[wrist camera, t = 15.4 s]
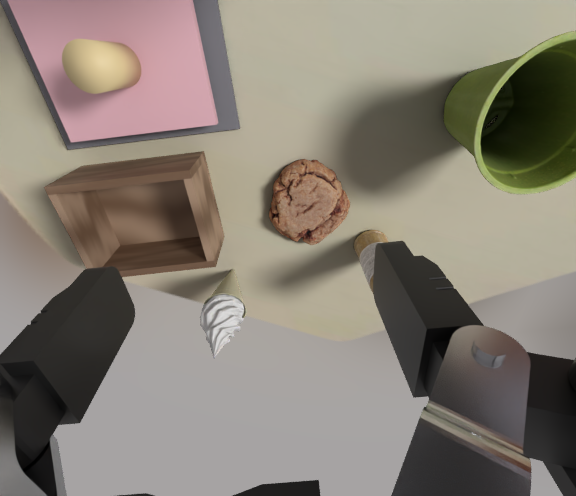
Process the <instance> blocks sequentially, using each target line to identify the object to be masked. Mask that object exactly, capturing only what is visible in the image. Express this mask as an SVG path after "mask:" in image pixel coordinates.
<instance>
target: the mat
mask: <svg viewBox="0 0 576 496" xmlns="http://www.w3.org/2000/svg"><path fill="white" fill-rule="evenodd" d="M0 2H1V4H2V6H3V8H4V11H5V13H6V15H7V17H8V19H9V22H10V24H11V26H12V28H13V30H14V32H15V35H16V37H17V39H18V41H19V43H20V46H21V48H22V50H23V52H24V54H25V57H26V59H27V61H28V63H29V65H30V67H31V70H32V72H33V74H34V76H35V78H36V81H37V83H38V85H39V87H40V89H41V92H42V94H43V96H44V98H45V100H46V103H47V105H48V107H49V109H50V111H51V113H52V116H53V118H54V120H55V122H56V124H57V127H58V129H59V131H60V133H61V135H62V138H63V140H64V142H65V144H66V146H67V148H68V149H77V148H85V147H93V146H101V145H110V144H118V143H126V142H134V141H142V140H151V139H159V138H167V137H175V136H184V135H192V134H200V133H208V132H217V131H225V130H233V129H240V125H239V119H238V113H237V108H236V102H235V96H234V91H233V85H232V79H231V74H230V68H229V63H228V57H227V51H226V46H225V40H224V34H223V29H222V23H221V17H220V12H219V6H218V0H193V4H194V8H195V13H196V18H197V23H198V27H199V32H200V37H201V42H202V47H203V51H204V56H205V61H206V66H207V70H208V75H209V80H210V85H211V89H212V94H213V99H214V104H215V109H216V113H217V118H218V124H217V125H210V126H202V127H193V128H185V129H177V130H169V131H161V132H153V133H145V134H137V135H128V136H120V137H112V138H104V139H96V140H88V141H80V142H71V141H70V139H69V137H68V135H67V132H66V130H65V128H64V126H63V123H62V121H61V119H60V117H59V115H58V112H57V110H56V108H55V106H54V103H53V101H52V99H51V97H50V94H49V92H48V90H47V88H46V86H45V83H44V81H43V79H42V77H41V74H40V72H39V70H38V68H37V65H36V63H35V61H34V59H33V56H32V54H31V52H30V50H29V48H28V45H27V43H26V41H25V39H24V36H23V34H22V32H21V30H20V27H19V25H18V23H17V21H16V19H15V16H14V14H13V12H12V10H11V7H10V5H9V3H8V1H7V0H0Z"/></svg>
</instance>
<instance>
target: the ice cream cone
mask: <svg viewBox="0 0 576 496" xmlns="http://www.w3.org/2000/svg"><path fill="white" fill-rule="evenodd" d="M245 315H246V306H245V304H244V302H243V298H242V295H241V291H240V288H239V284H238V281H237V277H236V274H235V271H234V270H233V269H232V270H231V271H230V272H229V274H228V275H227V276H226V277H225V279H224V280H223V281H222V282H221V284H220V285H219V286H218V287H217V289H216V290H215V291H214V293H213V294H212V295H211V296H210V297H209V298H208V299H207V300H206V301H205V303H204V306H203V309H202V312H201V316H200V325H201V327H202V328H203V330H204V331H205V333H206V335H207V337H206V340H207V341H208V343H209V344H210V347H211V350H212V353H213V358H215V356H216V355H217V354H218V352H219V351H220V350H221V348H222V347H223V346H224V345H225V344H226V343H228V342H229V341H230V340H229V339H228V337H234V334H233V332H234V331H240V326H238V323H242V322H243V320H244V317H245Z"/></svg>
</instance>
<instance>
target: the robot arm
mask: <svg viewBox="0 0 576 496" xmlns="http://www.w3.org/2000/svg"><path fill="white" fill-rule="evenodd" d="M373 294H374V299H375V303H376V306H377V308H378V310H379V313H380V315H381V318H382V320H383V323H384V325H385V328H386V330H387V333H388V335H389V338H390V340H391V343H392V345H393V347H394V350H395V353H396V355H397V358H398V360H399V363H400V365H401V368H402V370H403V373H404V375H405V378H406V380H407V382H408V385H409V387H410V390H411V392H412V395H413V397H425V396H428V397H429V401H428V404H427V406H426V407H424V409H423V412H422V414H421V416H420V419H419V421H418V424H417V427H416V430H415V432H414V435H413V438H412V441H411V444H410V446H409V449H408V451H407V454H406V457H405V460H404V462H403V466H402V468H401V471H400V473H399V476H398V479H397V482H396V484H395V487H394V490H393V493H392V495H391V496H530V490H531V462H530V459H529V458H533V459H536V460H540V461H543V462H544V464H545V466H546V467H547V469H548V470H549V472H550V474H551V476H552V478H553V479H554V481H555V483H556V484H557V486H558V488H559V489H560V491H561V492H562V494H563V496H576V358H575V360H570V359H563V358H557V357H552V356H546V355H539V354H534V353H529V352H526V350H525V349H524V348H523V346H522V345H520V344H519V343H518V342H517V341H516V340H515V339H514V338H512V337H510V336H509V335H507V334H505V333H503V332H501V331H499V330H496V329H494V328H490V327H486V326H484V325H483V324H482V323H481V321H480V320H479V319H478V317H477V316H476V315H475V314H474V312H473V311H472V310H471V308H470V307H469V306H468V304H467V303H466V302H465V301H464V299H463V298H462V297H461V295H460V294H459V293H458V291H457V290H456V289H454V288H453V285H452V284H451V282H450V281H449V280H448V279H446V276H445V275H444V273H443V272H442V271H441V269H440V268H439V267H438V265H436V264H435V263H433V262H432V261H430V260H429V259H427V258H425V257H424V256H413V254H412V253H411V251H410V250H409V248H408V247H407V246H406V244H405V243H404V242H403V241H396V242H385V243H377V245H376V248H375V260H374V275H373ZM134 317H135V308H134V304H133V302H132V300H131V297H130V295H129V293H128V291H127V288H126V286H125V284H124V281H123V279H122V277H121V275H120V272H119V271H118V269H117V268H115V267H113V266H109V267H98V268H88V269H85V270H84V271H83V272H82V273H81V274H80V275H79V276H78V277H77V279H76V280H75V281H74V282H73V283H72V284H71V285H70V286H69V287H68V288H66V289H65V290H64V291H62V292H61V293H59V294H58V295H57V296H55V297H53V298H52V299H51V301H50V302H49V303H48V304H47V305H46V306H45V307H44V308H43V309H42V310H41V313H39V314H38V315H37V316H36V317H35V318H34V319H33V320H32V321H31V325H27V326H26V328H25V329H24V330H23V331H22V332H21V333H20V334H19V335H18V336H17V337H16V338H15V339H14V340H13V342H12V343H11V344H10V345H9V346H8V347H7V348H6V349H5V350H4V351H3V352H2V354H1V355H0V496H67V495H66V490H65V483H64V477H63V471H62V465H61V459H60V453H59V447H58V442H57V439H56V438H55V437H54V435H53V433H54V431H55V429H56V428H57V426H58V425H62V424H75V423H80V422H81V420H82V418H83V416H84V414H85V412H86V411H87V409H88V407H89V405H90V403H91V401H92V399H93V398H94V395H95V394H96V392H97V390H98V388H99V386H100V384H101V383H102V381H103V379H104V377H105V375H106V373H107V371H108V369H109V367H110V366H111V364H112V362H113V360H114V358H115V356H116V355H117V353H118V351H119V349H120V347H121V345H122V343H123V341H124V340H125V338H126V336H127V334H128V332H129V330H130V328H131V327H132V324H133V322H134ZM119 496H153V495H150V494H134V495H133V494H132V495H119ZM233 496H320V489H319V481H318V480H315V481H301V482H288V483H275V484H262V485H259V486H257V487H254V488H252V489H249V490H246V491H244V492H241V493H239V494H236V495H233Z"/></svg>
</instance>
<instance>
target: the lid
mask: <svg viewBox="0 0 576 496" xmlns="http://www.w3.org/2000/svg"><path fill="white" fill-rule="evenodd" d="M7 1H8V3H9V5H10V7H11V10H12V12H13V14H14V16H15V19H16V21H17V23H18V25H19V27H20V30H21V32H22V34H23V36H24V39H25V41H26V43H27V45H28V48H29V50H30V52H31V54H32V56H33V59H34V61H35V63H36V65H37V68H38V70H39V72H40V74H41V77H42V79H43V81H44V83H45V86H46V88H47V90H48V92H49V94H50V97H51V99H52V101H53V103H54V106H55V108H56V110H57V112H58V115H59V117H60V119H61V121H62V123H63V126H64V128H65V130H66V132H67V135H68V137H69V139H70V141H71V142H80V141H88V140H96V139H104V138H112V137H120V136H128V135H137V134H145V133H153V132H161V131H169V130H177V129H185V128H193V127H202V126H210V125H217V124H218V118H217V113H216V109H215V104H214V99H213V94H212V89H211V85H210V80H209V75H208V70H207V66H206V61H205V56H204V51H203V47H202V42H201V37H200V32H199V27H198V23H197V18H196V13H195V8H194V4H193V0H7Z"/></svg>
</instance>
